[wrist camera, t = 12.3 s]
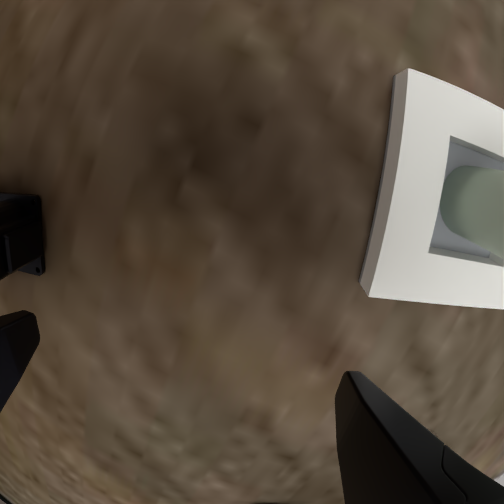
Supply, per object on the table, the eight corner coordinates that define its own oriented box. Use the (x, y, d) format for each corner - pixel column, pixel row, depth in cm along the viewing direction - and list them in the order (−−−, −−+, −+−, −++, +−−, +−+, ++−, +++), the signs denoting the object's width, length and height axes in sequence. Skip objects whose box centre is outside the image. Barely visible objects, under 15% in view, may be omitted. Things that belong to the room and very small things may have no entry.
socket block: (358, 281, 21) (368, 296, 18) (393, 75, 16) (408, 68, 14) (498, 297, 20) (513, 310, 18) (532, 137, 16) (551, 139, 14)
